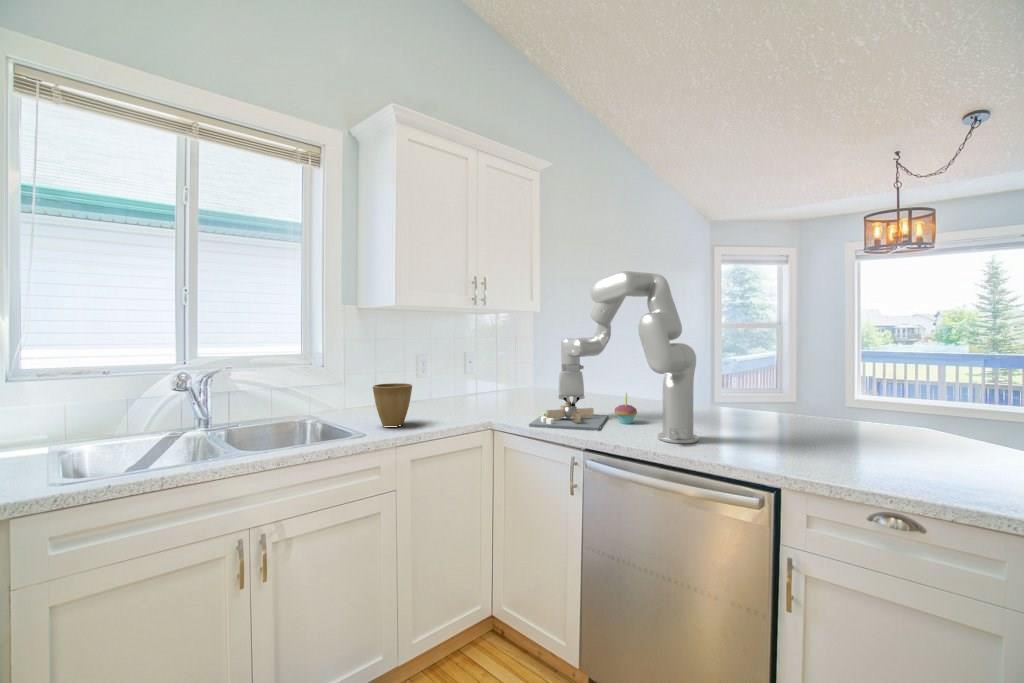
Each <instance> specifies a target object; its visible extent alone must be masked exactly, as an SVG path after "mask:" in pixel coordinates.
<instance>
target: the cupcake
mask: <svg viewBox="0 0 1024 683" xmlns="http://www.w3.org/2000/svg"><path fill="white" fill-rule="evenodd" d="M614 414H615V415H616V416H617V418H618V421H619V423H620V424H622V425H631V423H632V424H633V422H634V418H635V417H636V415H637V414H638V411H637V408H635V406H633V405H631V404H628V392H626V393H625V402H624V404H620V405H618V406H615V408H614Z"/></svg>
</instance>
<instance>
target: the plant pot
mask: <svg viewBox="0 0 1024 683" xmlns="http://www.w3.org/2000/svg"><path fill="white" fill-rule="evenodd" d="M372 391H373V397H374V398H373V399H374V401H375V402H374V403H375V406H376V411H377V414H378V417H379V420H380V423H381V424H382V427H383V426H399V425H402V424H403V425H404V423H405V420H406V417H407V414H408V410H409V406H410V403H411V397H412V391H413V384H412V383H403V382H402V383H400V382H398V383H396V382H395V383H381V384H380V383H379V384H373V385H372Z"/></svg>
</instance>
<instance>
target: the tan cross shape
mask: <svg viewBox="0 0 1024 683" xmlns="http://www.w3.org/2000/svg"><path fill="white" fill-rule="evenodd" d="M546 417H548V418H552V419H566V420H573V421H575V422H576V423H578V422H581V418H584V417H594V408H593V407H584V408H582V407H581V408H578V407H577V406H576V405H575V406H570V404H568V403H567V402H566V403H564V405H560V408H559V409H546Z"/></svg>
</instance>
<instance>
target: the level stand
mask: <svg viewBox="0 0 1024 683" xmlns="http://www.w3.org/2000/svg"><path fill="white" fill-rule="evenodd" d="M608 417H609V415H608V414H594V417H584V418H581V422H578V423H576V422H575V421H573V420H566V419H552V418H548V417H546V411H543V412H541V413H539V414H538V417H537V418H536V419H534V420H532V422H530V423H529V424H528V427H529V428H530V427H531V428H544V427H548V428H547V429H561V430H563V429H564V430H565V429H567V430H578V429H579V431H580V430H581V431H582V430H583V431H594V430H598V431H600V430H601V428H602V426H603V425H604V423H605V422H606V420H608ZM600 427H601V428H600Z"/></svg>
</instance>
